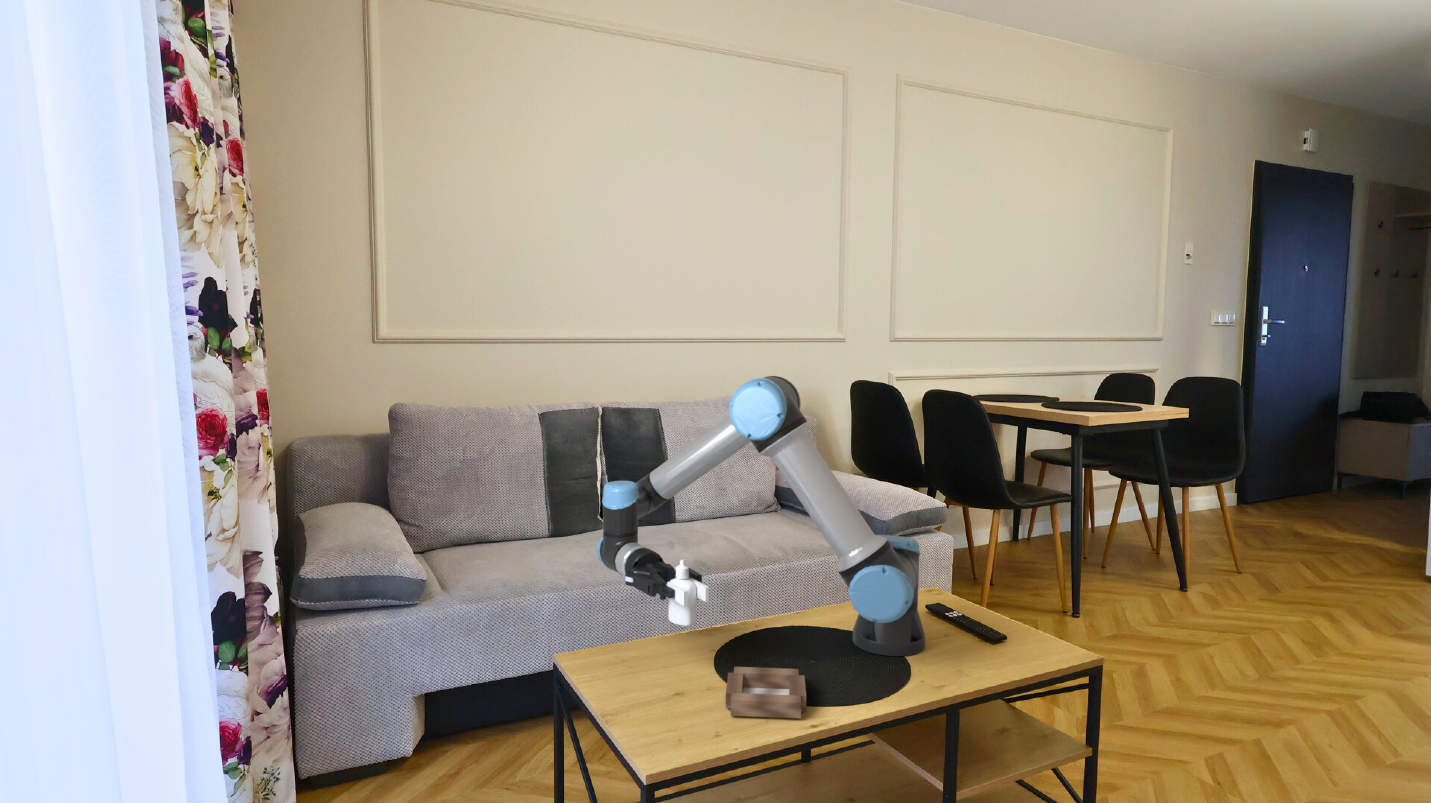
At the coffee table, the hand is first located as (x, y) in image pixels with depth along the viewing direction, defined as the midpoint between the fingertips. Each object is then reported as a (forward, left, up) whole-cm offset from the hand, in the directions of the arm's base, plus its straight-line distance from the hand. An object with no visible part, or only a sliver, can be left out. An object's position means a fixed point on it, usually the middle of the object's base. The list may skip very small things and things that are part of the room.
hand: (696, 596), depth 150 cm
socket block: (-13, +4, -18) cm, 22 cm away
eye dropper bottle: (+3, -4, -7) cm, 9 cm away
